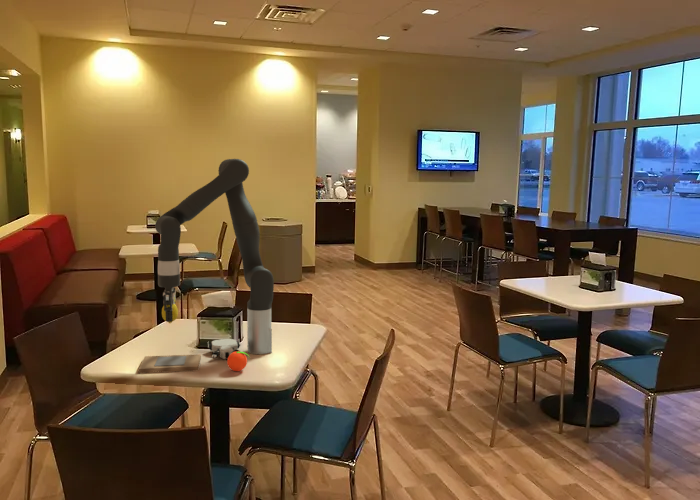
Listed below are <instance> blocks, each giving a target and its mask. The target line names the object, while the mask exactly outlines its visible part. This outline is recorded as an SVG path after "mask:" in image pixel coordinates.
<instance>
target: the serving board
mask: <svg viewBox="0 0 700 500" xmlns="http://www.w3.org/2000/svg"><path fill="white" fill-rule="evenodd" d="M201 355H202V354H201V353H200V354H198V353H195V354H173V355H170V354H169V355H168V354H167V355H150V356H149V355H148V356H147V355H145V356H144V357H143V359H142V362H141V364H140V366H139V368H138V373H139V374H147V373H149V374H151V373H169V372H171V373H172V372H175V371H176V372H195V371H199V369H200V364H201V359H202V356H201Z"/></svg>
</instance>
